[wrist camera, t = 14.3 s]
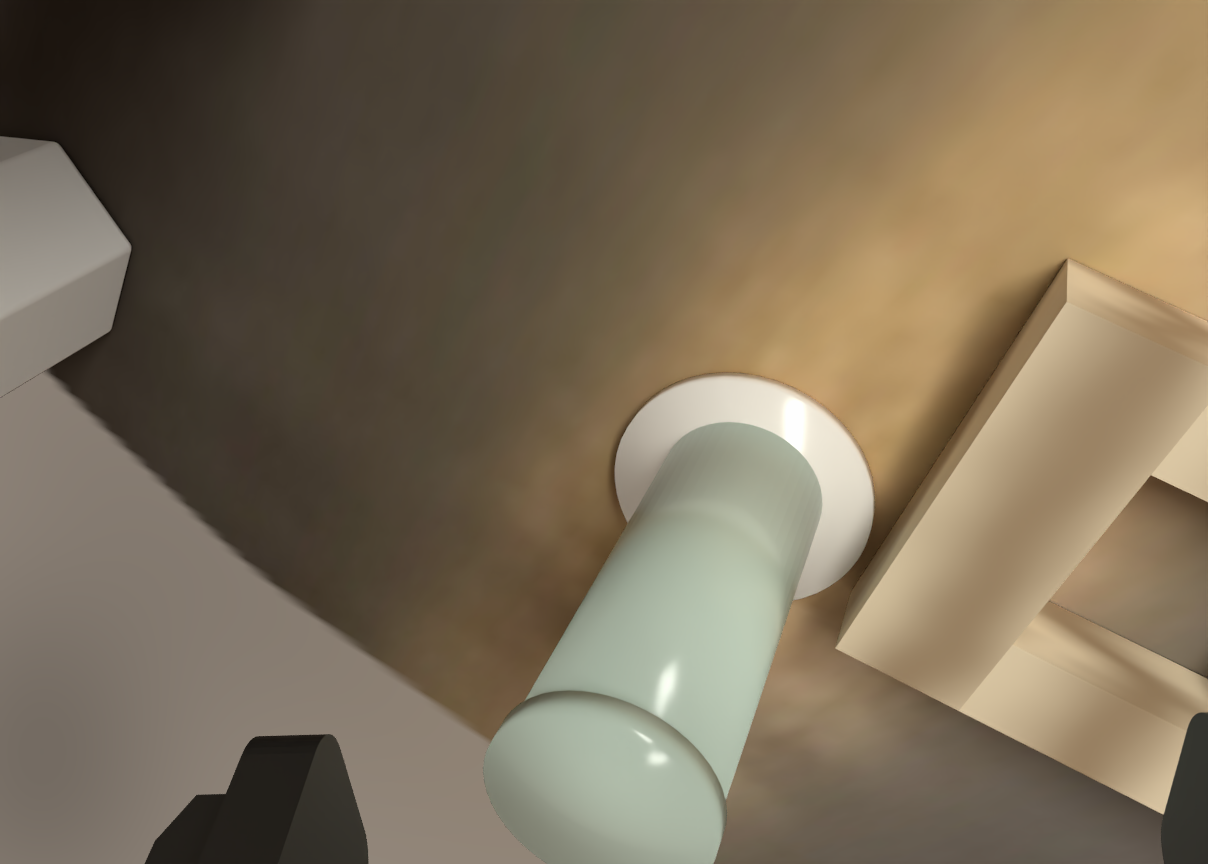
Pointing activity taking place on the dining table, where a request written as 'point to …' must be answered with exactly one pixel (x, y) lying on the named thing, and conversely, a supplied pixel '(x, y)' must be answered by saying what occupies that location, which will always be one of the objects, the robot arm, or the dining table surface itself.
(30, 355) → the jar
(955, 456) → the wooden square frame
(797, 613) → the dining table surface
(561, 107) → the dining table surface
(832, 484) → the saucer
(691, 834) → the mint green tumbler
